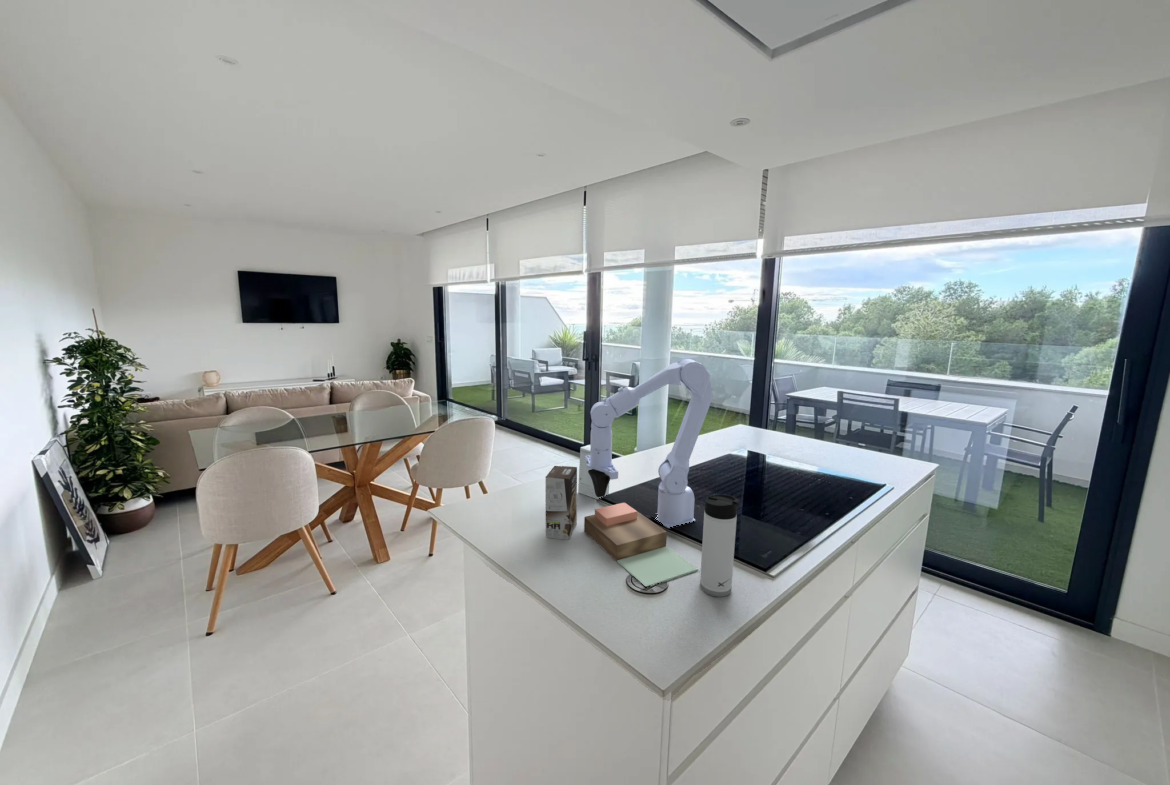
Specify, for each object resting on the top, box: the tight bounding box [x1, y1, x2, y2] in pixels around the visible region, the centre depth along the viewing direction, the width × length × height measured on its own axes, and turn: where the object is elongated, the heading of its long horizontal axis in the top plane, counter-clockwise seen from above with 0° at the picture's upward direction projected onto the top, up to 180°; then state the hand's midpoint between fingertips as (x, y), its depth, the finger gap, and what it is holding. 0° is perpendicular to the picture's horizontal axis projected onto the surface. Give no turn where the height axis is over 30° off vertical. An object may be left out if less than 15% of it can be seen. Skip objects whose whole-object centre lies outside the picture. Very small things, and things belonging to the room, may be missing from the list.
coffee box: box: [545, 465, 578, 541], centre depth 117 cm, size 9×6×16 cm
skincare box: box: [577, 444, 610, 500], centre depth 140 cm, size 8×6×15 cm
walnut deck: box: [583, 510, 668, 562], centre depth 114 cm, size 14×16×4 cm
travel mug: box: [699, 494, 741, 598], centre depth 93 cm, size 6×7×20 cm
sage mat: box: [617, 545, 699, 586], centre depth 102 cm, size 14×11×1 cm
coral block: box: [594, 502, 638, 526], centre depth 117 cm, size 9×6×2 cm, turn 118°
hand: (600, 495), depth 123 cm, fingers closed
